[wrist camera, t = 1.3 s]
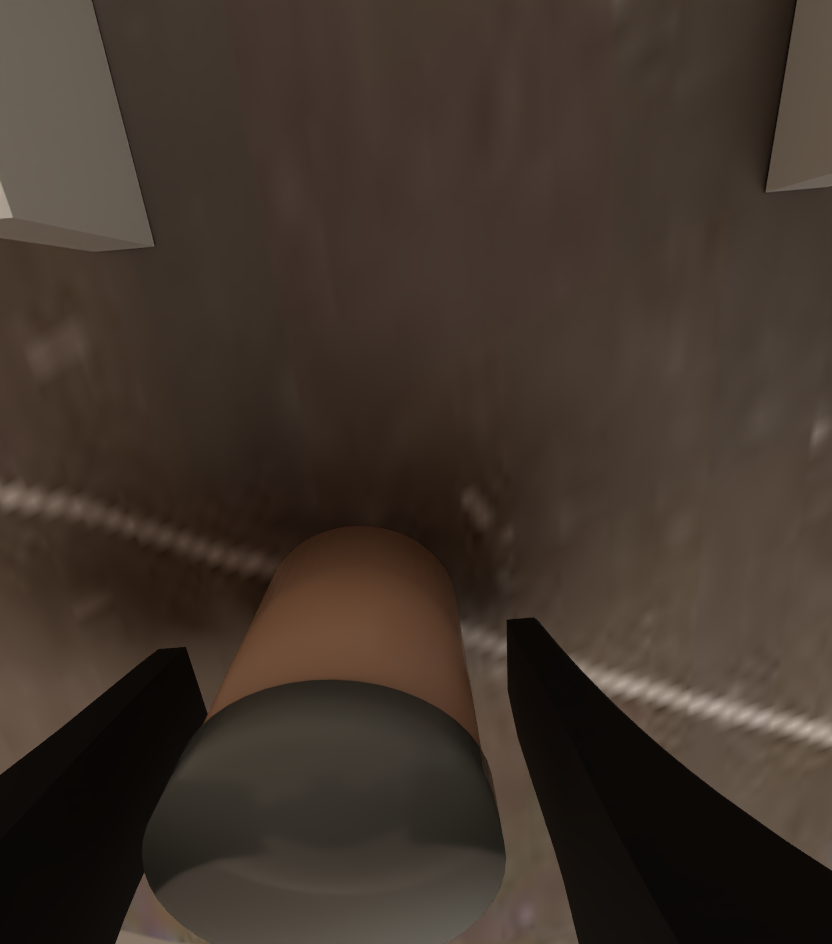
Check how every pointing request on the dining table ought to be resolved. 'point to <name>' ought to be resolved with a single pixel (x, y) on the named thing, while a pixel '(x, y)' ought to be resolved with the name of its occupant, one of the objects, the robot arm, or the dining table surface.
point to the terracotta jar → (336, 764)
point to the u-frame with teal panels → (111, 165)
